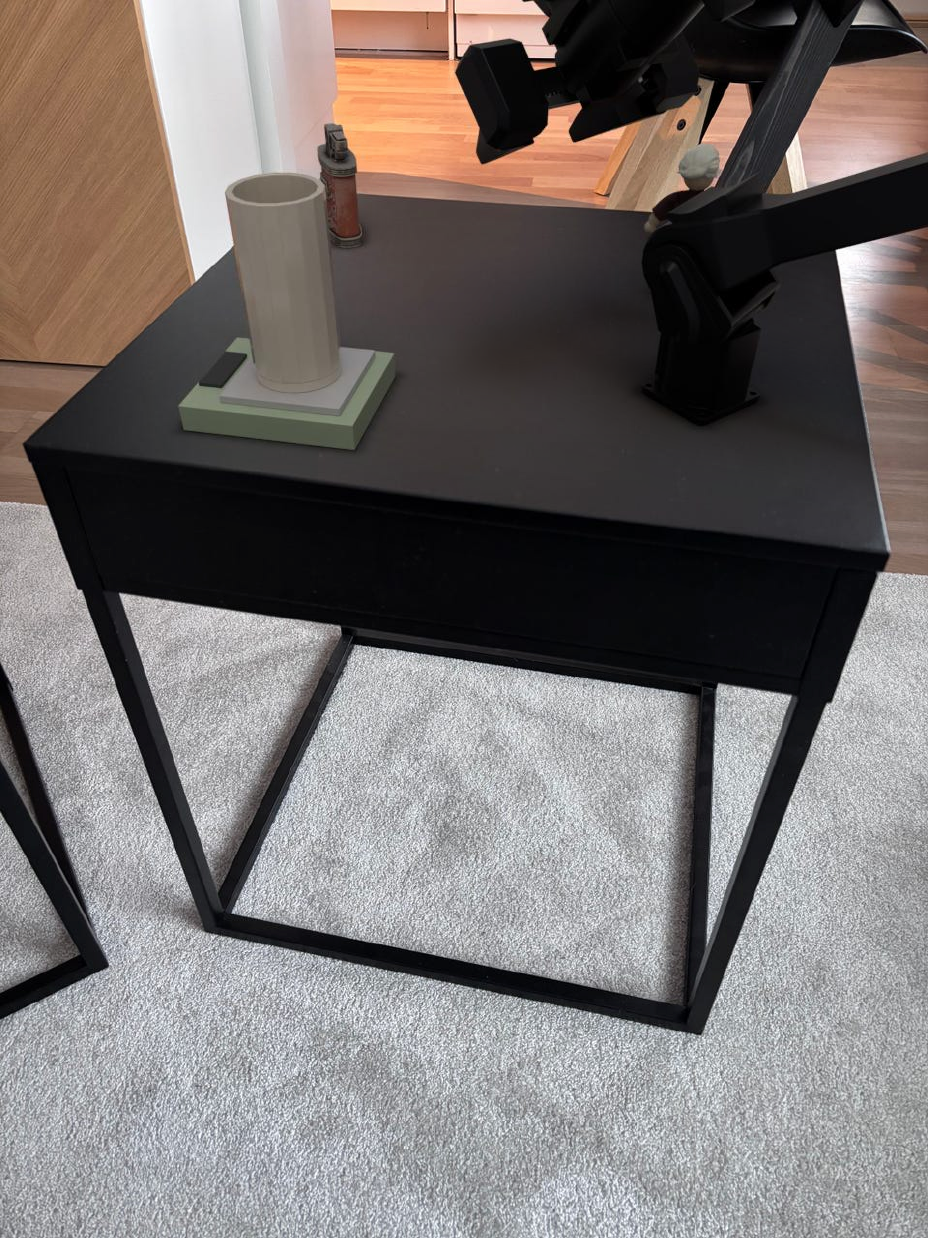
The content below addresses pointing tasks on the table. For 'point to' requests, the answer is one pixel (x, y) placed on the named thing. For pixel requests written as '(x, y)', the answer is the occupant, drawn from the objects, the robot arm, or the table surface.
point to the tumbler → (286, 279)
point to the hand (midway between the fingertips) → (527, 146)
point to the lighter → (340, 187)
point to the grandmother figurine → (688, 181)
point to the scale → (289, 401)
